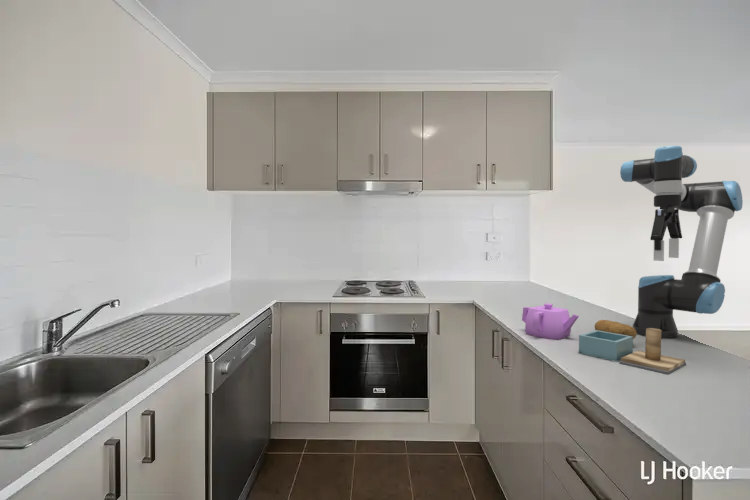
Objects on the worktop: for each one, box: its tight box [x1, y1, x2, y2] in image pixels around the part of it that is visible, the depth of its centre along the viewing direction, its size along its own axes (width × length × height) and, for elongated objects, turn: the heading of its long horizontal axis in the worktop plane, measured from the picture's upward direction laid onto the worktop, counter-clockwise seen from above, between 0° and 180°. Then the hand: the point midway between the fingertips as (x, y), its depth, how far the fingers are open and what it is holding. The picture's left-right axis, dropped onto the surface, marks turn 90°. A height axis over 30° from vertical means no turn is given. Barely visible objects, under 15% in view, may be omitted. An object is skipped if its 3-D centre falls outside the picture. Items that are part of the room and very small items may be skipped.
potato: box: [594, 319, 638, 340], centre depth 159 cm, size 10×14×8 cm
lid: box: [620, 328, 686, 371], centre depth 134 cm, size 13×13×10 cm
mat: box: [619, 360, 687, 375], centre depth 134 cm, size 15×13×1 cm
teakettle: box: [521, 302, 580, 341], centre depth 172 cm, size 17×17×12 cm
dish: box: [578, 329, 634, 362], centre depth 145 cm, size 12×12×6 cm
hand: (666, 259), depth 145 cm, fingers open, 13 cm apart
